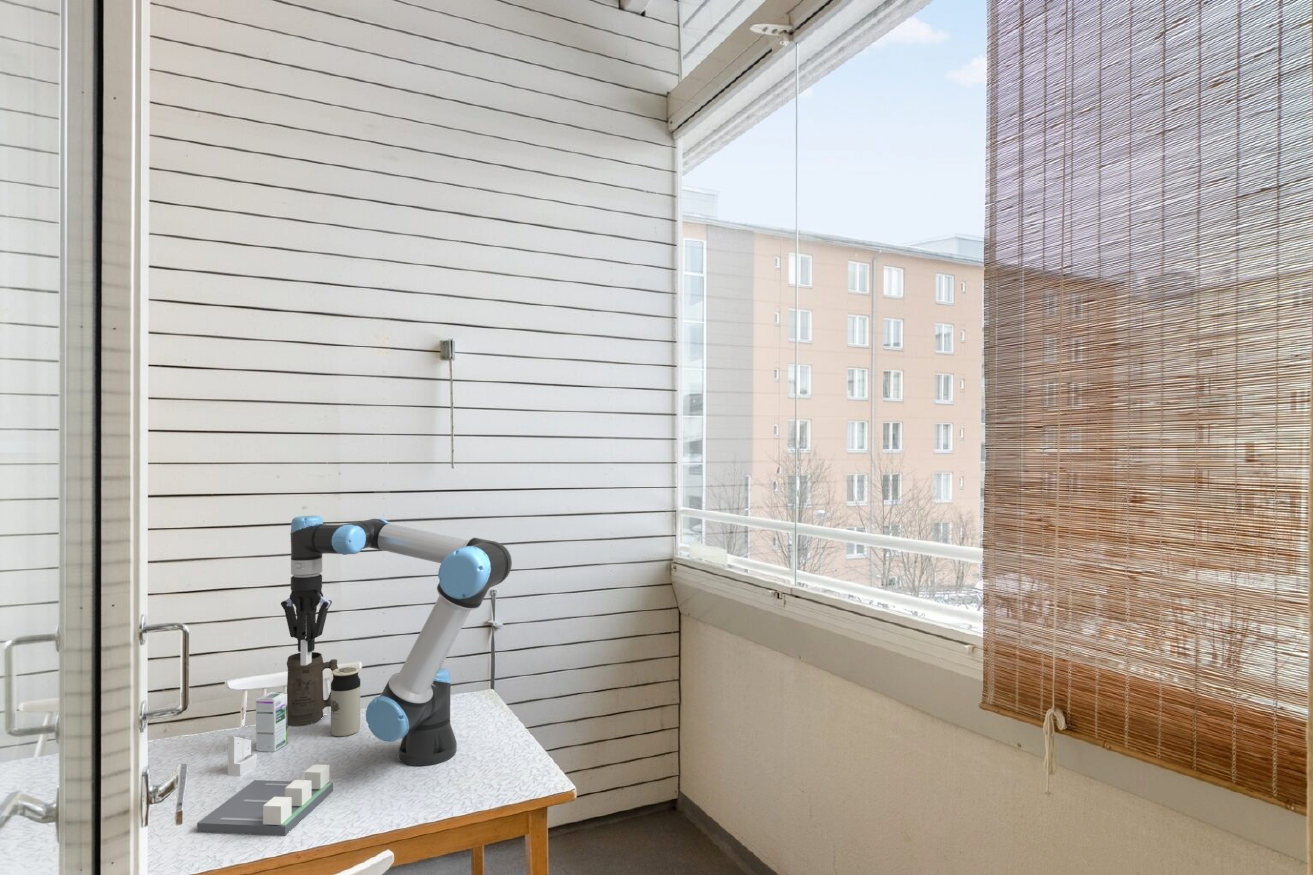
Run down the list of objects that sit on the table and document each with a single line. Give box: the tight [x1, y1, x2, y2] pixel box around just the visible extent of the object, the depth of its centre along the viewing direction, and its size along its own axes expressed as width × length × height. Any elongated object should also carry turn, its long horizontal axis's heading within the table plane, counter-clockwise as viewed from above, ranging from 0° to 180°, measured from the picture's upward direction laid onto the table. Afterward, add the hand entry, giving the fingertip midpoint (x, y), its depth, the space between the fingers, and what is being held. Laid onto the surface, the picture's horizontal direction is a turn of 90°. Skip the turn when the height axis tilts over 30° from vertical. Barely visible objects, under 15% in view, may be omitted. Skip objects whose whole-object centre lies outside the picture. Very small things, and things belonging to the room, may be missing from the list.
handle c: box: [263, 797, 292, 825], centre depth 157 cm, size 4×4×4 cm
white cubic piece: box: [303, 764, 330, 789], centre depth 173 cm, size 4×4×4 cm
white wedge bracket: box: [227, 735, 258, 777], centre depth 185 cm, size 4×10×9 cm, turn 168°
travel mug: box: [330, 666, 361, 737], centre depth 211 cm, size 8×8×18 cm
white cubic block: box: [285, 779, 312, 806], centre depth 165 cm, size 4×4×4 cm
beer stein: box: [286, 651, 339, 727], centre depth 221 cm, size 15×11×20 cm
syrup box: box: [255, 691, 289, 753], centre depth 200 cm, size 6×6×14 cm
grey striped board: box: [196, 779, 334, 837], centre depth 166 cm, size 20×20×2 cm
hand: (306, 663), depth 190 cm, fingers closed
